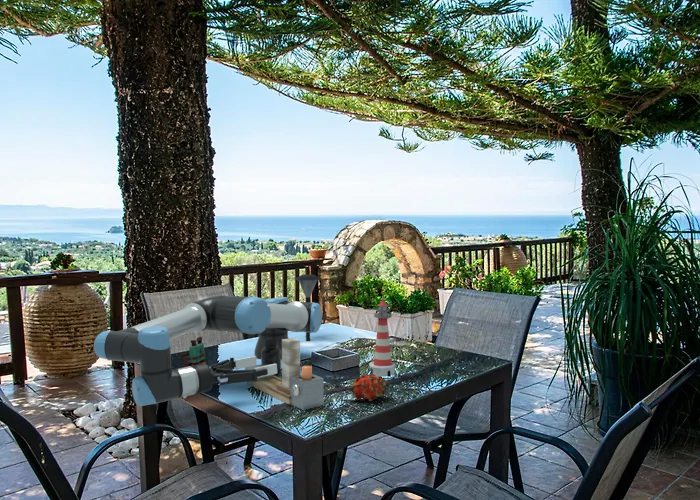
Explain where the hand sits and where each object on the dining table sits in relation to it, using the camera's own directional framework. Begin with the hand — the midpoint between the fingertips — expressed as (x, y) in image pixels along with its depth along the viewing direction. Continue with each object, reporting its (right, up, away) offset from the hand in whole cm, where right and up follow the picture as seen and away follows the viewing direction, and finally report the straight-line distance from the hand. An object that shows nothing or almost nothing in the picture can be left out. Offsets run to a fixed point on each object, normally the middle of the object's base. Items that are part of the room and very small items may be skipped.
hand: (265, 364), depth 159 cm
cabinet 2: (+12, -12, 0) cm, 17 cm away
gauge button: (+12, -7, 0) cm, 14 cm away
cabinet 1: (-6, -11, +23) cm, 26 cm away
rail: (+3, -11, +12) cm, 16 cm away
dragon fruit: (+30, -12, +4) cm, 33 cm away
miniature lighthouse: (+36, -11, +31) cm, 49 cm away
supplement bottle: (-3, -11, +33) cm, 35 cm away
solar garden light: (+5, -8, +91) cm, 92 cm away
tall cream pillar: (+7, -10, +7) cm, 14 cm away
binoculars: (-35, -10, +44) cm, 57 cm away
